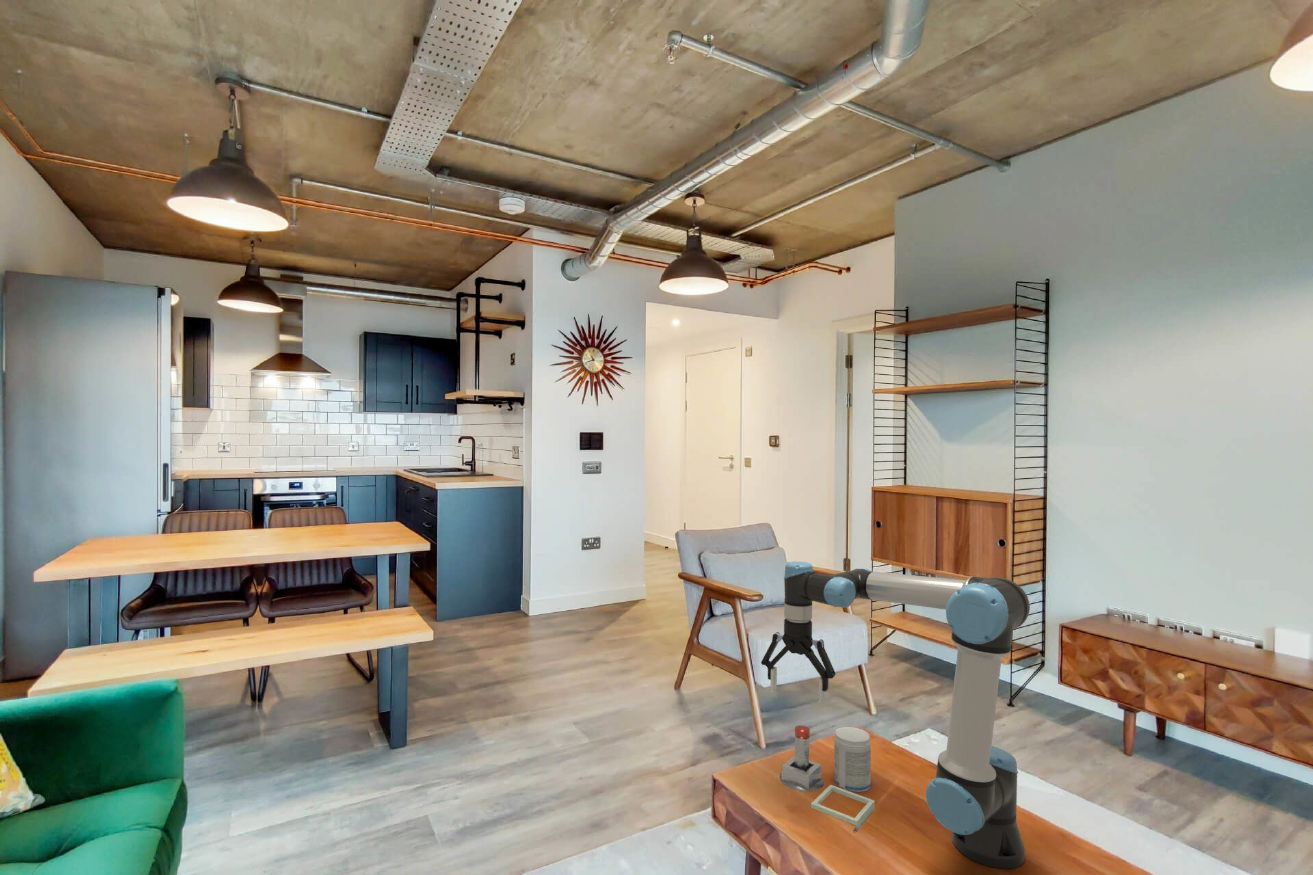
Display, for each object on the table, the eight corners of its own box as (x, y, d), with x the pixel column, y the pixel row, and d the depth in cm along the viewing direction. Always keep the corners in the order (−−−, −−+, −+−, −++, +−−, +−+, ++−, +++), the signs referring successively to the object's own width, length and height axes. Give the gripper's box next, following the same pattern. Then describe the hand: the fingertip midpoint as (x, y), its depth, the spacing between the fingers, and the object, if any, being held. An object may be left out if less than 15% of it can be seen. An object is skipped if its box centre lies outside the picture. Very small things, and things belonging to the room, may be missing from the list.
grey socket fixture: (831, 783, 178) (831, 763, 178) (812, 802, 169) (812, 781, 169) (791, 769, 186) (791, 750, 186) (771, 786, 176) (771, 766, 176)
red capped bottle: (811, 779, 178) (812, 728, 178) (804, 784, 174) (805, 733, 175) (798, 774, 180) (798, 724, 180) (791, 779, 177) (792, 728, 177)
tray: (874, 810, 166) (874, 800, 166) (856, 831, 156) (856, 821, 156) (830, 793, 173) (830, 784, 173) (810, 813, 164) (811, 803, 164)
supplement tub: (876, 788, 176) (877, 734, 176) (859, 801, 170) (860, 745, 170) (845, 774, 183) (845, 722, 183) (827, 786, 177) (828, 732, 177)
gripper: (847, 622, 173) (846, 702, 173) (760, 609, 186) (759, 683, 186) (839, 629, 167) (839, 711, 166) (750, 615, 180) (749, 691, 179)
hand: (797, 696), depth 176 cm, fingers open, 13 cm apart
